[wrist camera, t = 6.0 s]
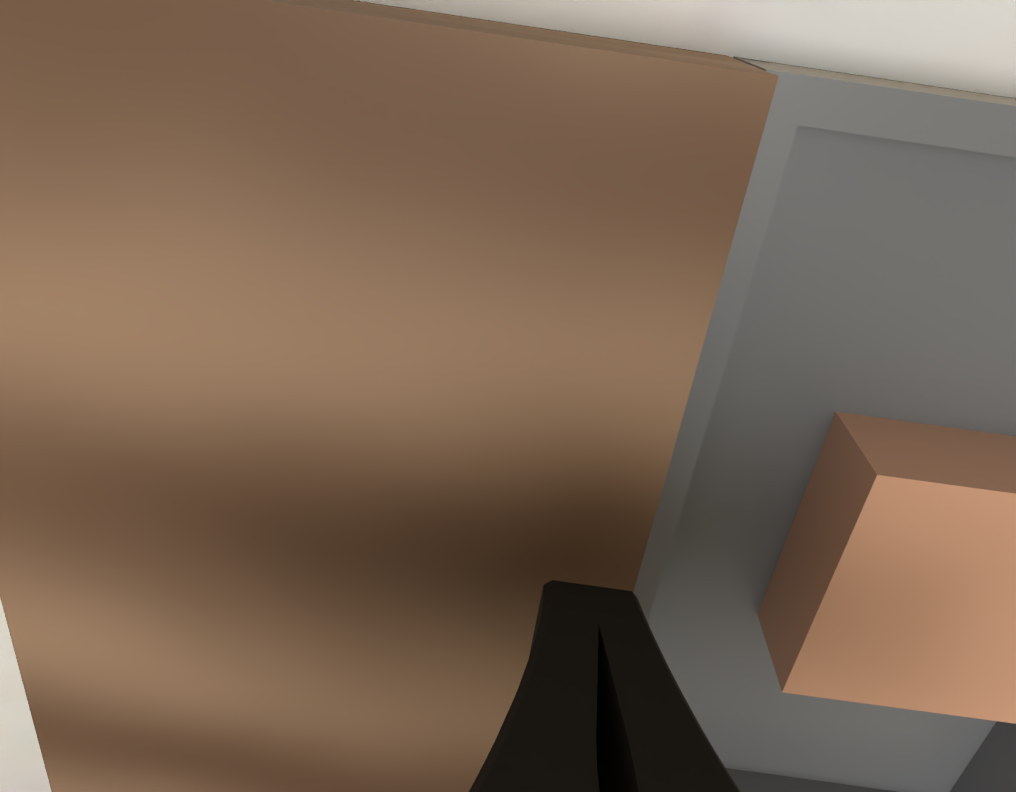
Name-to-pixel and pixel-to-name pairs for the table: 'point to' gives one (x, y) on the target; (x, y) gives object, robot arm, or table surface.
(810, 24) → the table surface
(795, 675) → the terracotta tile
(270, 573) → the walnut platform
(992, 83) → the table surface
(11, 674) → the table surface
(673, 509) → the tray
